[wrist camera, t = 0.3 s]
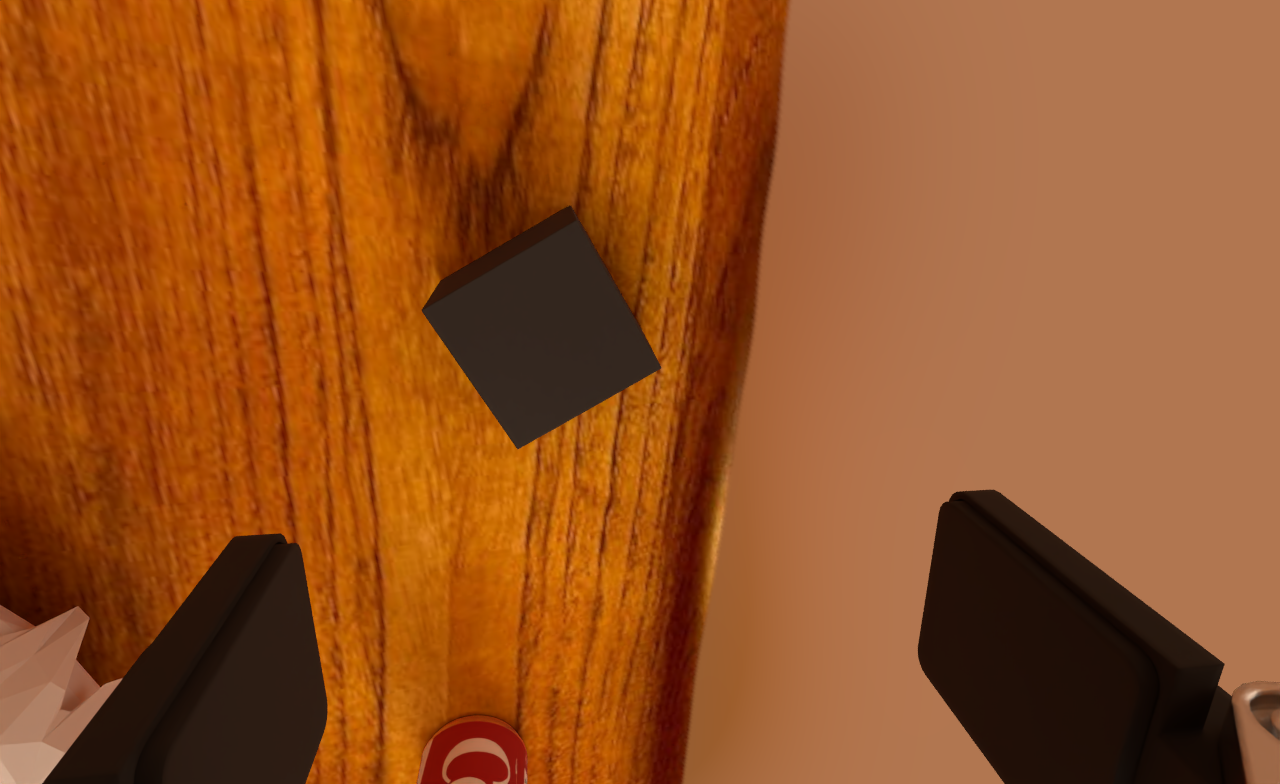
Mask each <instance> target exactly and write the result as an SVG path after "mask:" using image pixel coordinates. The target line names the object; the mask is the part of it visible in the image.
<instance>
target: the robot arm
mask: <svg viewBox="0 0 1280 784" xmlns="http://www.w3.org/2000/svg"><path fill="white" fill-rule="evenodd" d="M918 657H919V661H920V665H921V667H922V670H923V671H924V673H925V675H926V676H927V678H928V679H929V680H930V682H931V683H932V684H933V686H934V687H935V689H936V690H937V691H938V693H939V694H940V695H941V697H942V698H943V699H944V701H945V702H946V704H947V705H948V706H949V708H950V709H951V711H952V712H953V713H954V715H955V716H956V717H957V719H958V720H959V721H960V723H961V724H962V726H963V727H964V728H965V730H966V731H967V732H968V734H969V735H970V737H971V738H972V739H973V741H974V742H975V744H976V745H977V746H978V747H979V749H980V750H981V752H982V753H983V754H984V756H985V757H986V759H987V760H988V761H989V763H990V764H991V766H992V767H993V768H994V770H995V771H996V772H997V774H998V775H999V777H1000V778H1001V779H1002V781H1003V782H1004V783H1005V784H1280V683H1279V682H1266V681H1265V682H1264V681H1256V682H1250V683H1245V684H1242V685H1241V686H1239V687H1238V688H1237V689H1235V690H1234V692H1233V695H1232V696H1231V695H1229V694H1228V693H1227V692H1226V691H1224V690H1223V689H1222V688H1221V687H1219V686H1218V682H1219V679H1220V676H1221V673H1222V670H1223V667H1224V663H1223V662H1221V661H1220V660H1219V659H1217V658H1216V657H1215V656H1214V655H1212V654H1211V653H1210V652H1208V651H1207V650H1206V649H1204V648H1203V647H1202V646H1200V645H1199V644H1198V643H1196V642H1195V641H1194V640H1193V639H1191V638H1190V637H1189V636H1187V635H1186V634H1184V633H1183V632H1182V631H1181V630H1179V629H1178V628H1177V627H1175V626H1174V625H1173V624H1172V623H1170V622H1169V621H1168V620H1166V619H1165V618H1164V617H1162V616H1161V615H1160V614H1158V613H1157V612H1156V611H1154V610H1153V609H1152V608H1151V607H1149V606H1148V605H1146V604H1145V603H1144V602H1143V601H1141V600H1140V599H1138V598H1137V597H1136V596H1135V595H1133V594H1132V593H1131V592H1129V591H1128V590H1127V589H1126V588H1124V587H1123V586H1122V585H1120V584H1119V583H1117V582H1116V581H1115V580H1114V579H1112V578H1111V577H1109V576H1108V575H1107V574H1106V573H1104V572H1103V571H1102V570H1101V569H1099V568H1098V567H1097V566H1095V565H1094V564H1093V563H1091V562H1090V561H1089V560H1087V559H1086V558H1085V557H1083V556H1082V555H1081V554H1080V553H1078V552H1077V551H1076V550H1074V549H1073V548H1072V547H1070V546H1069V545H1068V544H1066V543H1065V542H1064V541H1063V540H1061V539H1060V538H1059V537H1057V536H1056V535H1054V534H1053V533H1052V532H1051V531H1049V530H1048V529H1047V528H1045V527H1044V526H1043V525H1041V524H1040V523H1039V522H1037V521H1036V520H1035V519H1034V518H1032V517H1031V516H1030V515H1028V514H1027V513H1026V512H1024V511H1023V510H1022V509H1020V508H1019V507H1018V506H1016V505H1015V504H1014V503H1013V502H1011V501H1010V500H1009V499H1007V498H1006V497H1005V496H1003V495H1002V494H1001V493H999V492H997V491H995V490H979V491H963V492H956V493H954V494H953V495H952V496H951V498H950V500H949V502H945V503H943V504H942V506H941V507H940V511H939V516H938V523H937V529H936V536H935V542H934V549H933V555H932V561H931V567H930V573H929V580H928V587H927V593H926V599H925V606H924V612H923V618H922V624H921V631H920V637H919V644H918ZM326 721H327V697H326V692H325V686H324V680H323V674H322V668H321V662H320V657H319V651H318V645H317V639H316V633H315V627H314V622H313V616H312V610H311V604H310V598H309V593H308V587H307V581H306V575H305V569H304V563H303V558H302V553H301V549H300V547H299V545H298V544H297V543H290V544H287V541H286V539H285V537H284V536H283V535H282V534H265V535H249V536H236V537H234V538H233V539H232V540H231V541H230V542H229V544H228V545H227V546H226V547H225V549H224V550H223V551H222V553H221V554H220V555H219V557H218V558H217V559H216V561H215V562H214V563H213V564H212V566H211V567H210V568H209V570H208V571H207V572H206V574H205V575H204V576H203V578H202V579H201V580H200V581H199V583H198V584H197V585H196V587H195V588H194V589H193V591H192V592H191V593H190V595H189V596H188V597H187V598H186V600H185V601H184V602H183V604H182V605H181V606H180V608H179V609H178V610H177V612H176V613H175V614H174V615H173V617H172V618H171V619H170V621H169V622H168V623H167V625H166V626H165V627H164V629H163V630H162V631H161V632H160V634H159V635H158V636H157V638H156V639H155V640H154V642H153V643H152V644H151V645H150V646H149V647H148V648H147V649H146V650H145V651H144V652H143V653H142V654H141V656H140V657H139V658H138V659H137V661H136V662H135V663H134V665H133V666H132V667H131V669H130V670H129V671H128V672H127V674H126V675H125V676H124V678H123V679H122V680H121V682H120V683H119V684H118V685H117V687H116V688H115V689H114V691H113V692H112V693H111V695H110V696H109V697H108V698H107V700H106V701H105V702H104V704H103V705H102V706H101V708H100V709H99V710H98V711H97V713H96V714H95V715H94V717H93V718H92V719H91V721H90V722H89V723H88V724H87V726H86V727H85V728H84V730H83V731H82V732H81V734H80V735H79V736H78V737H77V739H76V740H75V741H74V743H73V744H72V745H71V747H70V748H69V749H68V750H67V752H66V753H65V754H64V756H63V757H62V758H61V760H60V761H59V762H58V763H57V765H56V766H55V767H54V769H53V770H52V771H51V773H50V774H49V775H48V776H47V778H46V779H45V780H44V782H43V783H42V784H305V783H306V780H307V777H308V775H309V772H310V769H311V766H312V764H313V761H314V758H315V755H316V752H317V750H318V747H319V744H320V741H321V739H322V736H323V733H324V730H325V726H326Z"/></svg>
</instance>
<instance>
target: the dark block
mask: <svg viewBox="0 0 1280 784" xmlns="http://www.w3.org/2000/svg"><path fill="white" fill-rule="evenodd" d="M422 312H423V314H424V315H425V316H426V318H427V319H428V321H429V322H430V324H431V325H432V327H433V328H434V329H435V331H436V332H437V334H438V335H439V337H440V338H441V340H442V341H443V342H444V344H445V345H446V347H447V348H448V350H449V351H450V353H451V354H452V355H453V357H454V358H455V360H456V361H457V363H458V364H459V366H460V367H461V368H462V370H463V371H464V373H465V374H466V376H467V377H468V378H469V380H470V381H471V383H472V384H473V386H474V387H475V389H476V390H477V391H478V393H479V394H480V396H481V397H482V399H483V400H484V402H485V403H486V404H487V406H488V407H489V409H490V410H491V412H492V413H493V415H494V416H495V417H496V419H497V420H498V422H499V423H500V425H501V426H502V428H503V429H504V430H505V432H506V433H507V435H508V436H509V438H510V439H511V441H512V442H513V443H514V445H515V446H516V448H517V449H519V448H521V447H523V446H525V445H526V444H528V443H530V442H532V441H533V440H535V439H537V438H539V437H541V436H542V435H544V434H546V433H548V432H549V431H551V430H553V429H555V428H556V427H558V426H560V425H562V424H564V423H565V422H567V421H569V420H571V419H572V418H574V417H576V416H578V415H579V414H581V413H583V412H585V411H587V410H588V409H590V408H592V407H594V406H595V405H597V404H599V403H601V402H602V401H604V400H606V399H608V398H610V397H611V396H613V395H615V394H617V393H618V392H620V391H622V390H624V389H625V388H627V387H629V386H631V385H633V384H634V383H636V382H638V381H640V380H641V379H643V378H645V377H647V376H648V375H650V374H652V373H654V372H656V371H657V370H659V369H661V366H660V364H659V362H658V360H657V358H656V356H655V354H654V352H653V350H652V348H651V347H650V345H649V343H648V341H647V339H646V337H645V335H644V333H643V331H642V329H641V328H640V326H639V324H638V322H637V321H636V319H635V317H634V315H633V314H632V312H631V310H630V308H629V307H628V305H627V303H626V301H625V300H624V298H623V296H622V294H621V293H620V291H619V289H618V287H617V286H616V284H615V282H614V280H613V279H612V277H611V275H610V273H609V271H608V270H607V268H606V266H605V264H604V263H603V261H602V259H601V257H600V256H599V254H598V252H597V250H596V249H595V247H594V245H593V243H592V242H591V240H590V238H589V236H588V235H587V233H586V231H585V229H584V228H583V226H582V224H581V222H580V221H579V219H578V217H577V215H576V214H575V212H574V210H573V208H572V207H571V206H568V207H566V208H564V209H563V210H561V211H559V212H557V213H556V214H554V215H552V216H551V217H549V218H547V219H545V220H544V221H542V222H540V223H539V224H537V225H535V226H534V227H532V228H530V229H528V230H527V231H525V232H523V233H522V234H520V235H518V236H516V237H515V238H513V239H511V240H510V241H508V242H506V243H504V244H503V245H501V246H499V247H498V248H496V249H494V250H492V251H491V252H489V253H487V254H486V255H484V256H482V257H480V258H479V259H477V260H475V261H474V262H472V263H470V264H469V265H467V266H465V267H463V268H462V269H460V270H458V271H457V272H455V273H453V274H451V275H450V276H448V277H446V278H445V279H443V280H441V281H440V283H439V284H438V286H437V287H436V289H435V290H434V292H433V293H432V295H431V297H430V298H429V300H428V301H427V303H426V304H425V306H424V307H423V309H422Z"/></svg>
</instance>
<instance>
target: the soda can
mask: <svg viewBox="0 0 1280 784" xmlns="http://www.w3.org/2000/svg"><path fill="white" fill-rule="evenodd" d="M417 784H527V750H526V747H525V744H524V742H523V741H522V739H521V738H520V736H519V735H518V733H517V732H516V731H515V730H514V728H513V727H511V726H510V725H509V724H507V723H506V722H504V721H502V720H500V719H497V718H494V717H490V716H481V715H475V716H467V717H462V718H459V719H456V720H454V721H452V722H450V723H448V724H446V725H445V726H443V727H442V728H441V729H440V730H439V731H438V732H437V733H436V734H435V735H434V736H433V737H432V738H431V739H430V740H429V742H428V743H427V745H426V747H425V749H424V751H423V754H422V759H421V764H420V769H419V775H418V780H417Z"/></svg>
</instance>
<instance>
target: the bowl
mask: <svg viewBox="0 0 1280 784" xmlns="http://www.w3.org/2000/svg"><path fill="white" fill-rule="evenodd" d="M89 619H90V618H89V617H88V616H87V615H86V614H85V613H84V612H83V611H82V609H81V608H80V607H79V606H77V607H75V608H73V609H71V610H69V611H67V612H65V613H63V614H61V615H58V616H56V617H54V618H52V619H50V620H48V621H46V622H44V623H42V624H40V625H38V626H34V625H32V624H31V623H29V622H28V621H26V620H24V619H23V618H21V617H19V616H18V615H16V614H14V613H13V612H11V611H10V610H8V609H6V608H5V607H3V606H1V605H0V784H42V783H43V782H44V780H45V779H46V778H47V776H48V775H49V774H50V773H51V771H52V770H53V769H54V767H55V766H56V765H57V763H58V762H59V761H60V760H61V758H62V757H63V756H64V754H65V753H66V752H67V750H68V749H69V748H70V747H71V745H72V744H73V743H74V741H75V740H76V739H77V737H78V736H79V735H80V734H81V732H82V731H83V730H84V728H85V727H86V726H87V724H88V723H89V722H90V721H91V719H92V718H93V717H94V715H95V714H96V713H97V711H98V710H99V709H100V708H101V706H102V705H103V704H104V702H105V701H106V700H107V698H108V697H109V696H110V695H111V693H112V692H113V691H114V689H115V688H116V687H117V685H118V684H119V683H120V682H121V680H122V679H123V678H121V679H118V680H115V681H112V682H109V683H106V684H104V685H103V686H102V687H101V688H100V686H99V685H98V684H97V683H96V682H95V681H94V680H93V678H92V677H91V676H90V675H89V674H88V673H87V671H86V670H85V669H84V668H83V667H82V666H81V665H80V663H79V662H78V661H77V660H76V658H77V655H78V652H79V649H80V646H81V643H82V640H83V637H84V634H85V631H86V628H87V625H88V622H89Z"/></svg>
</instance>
